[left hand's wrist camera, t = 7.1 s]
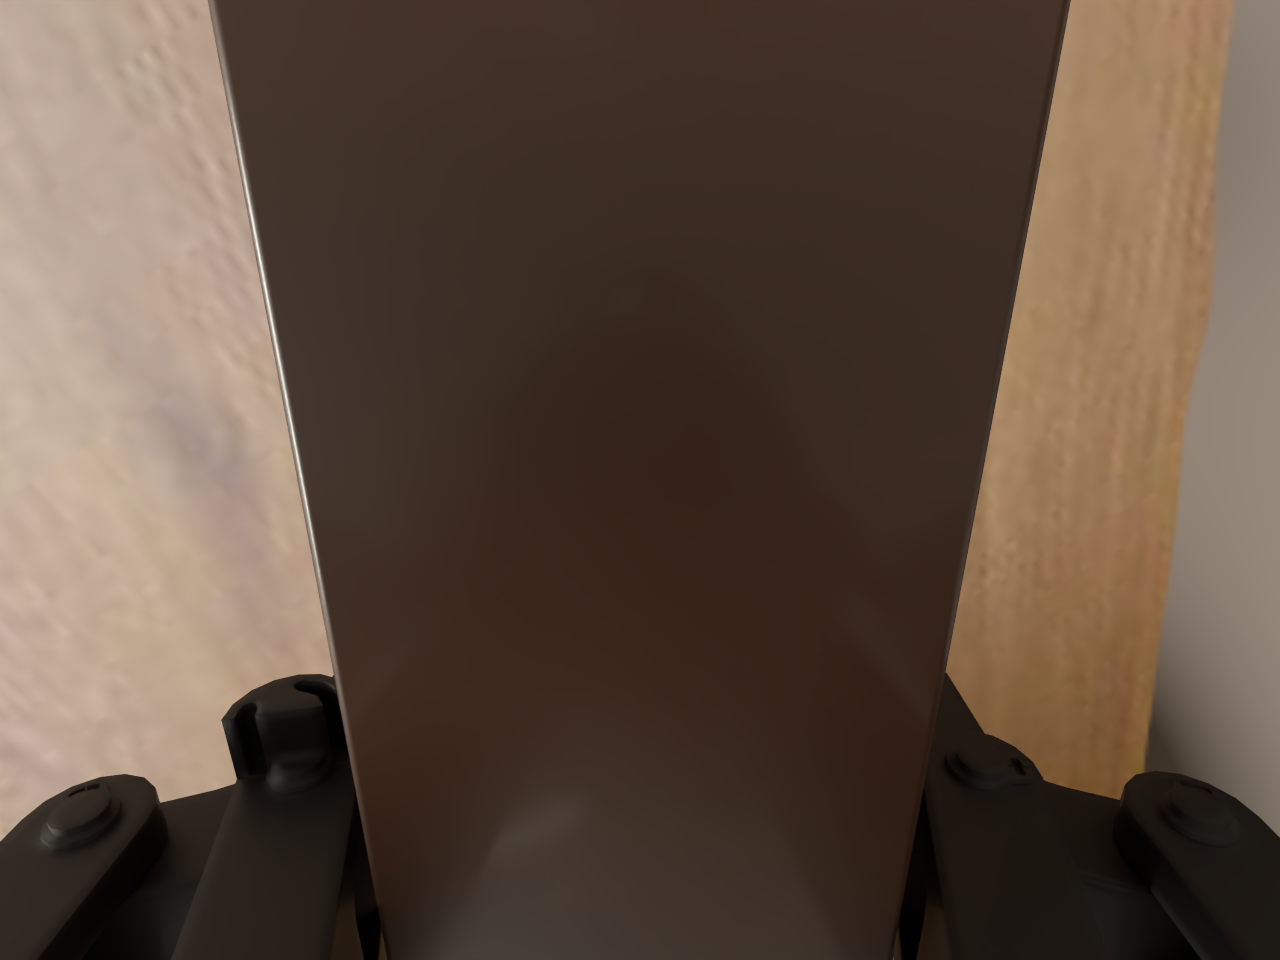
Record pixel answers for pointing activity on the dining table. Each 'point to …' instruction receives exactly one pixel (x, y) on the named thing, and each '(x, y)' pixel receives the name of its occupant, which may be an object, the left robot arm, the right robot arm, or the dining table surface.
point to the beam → (639, 438)
